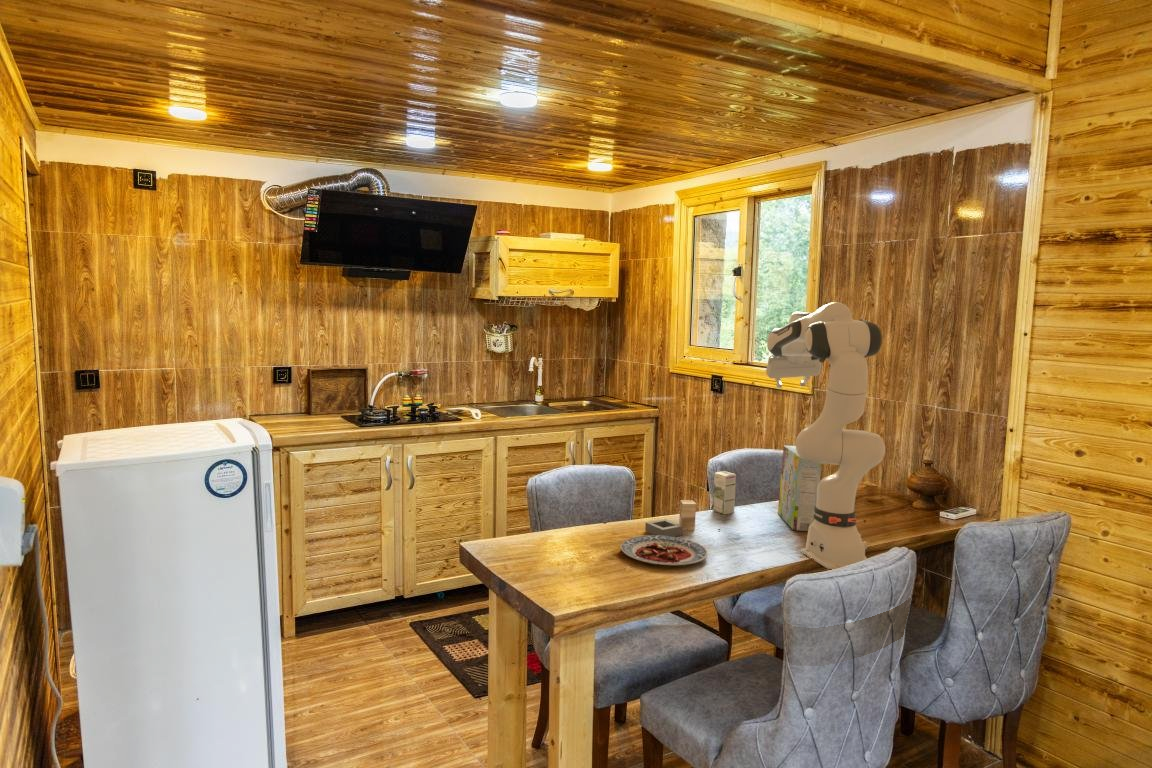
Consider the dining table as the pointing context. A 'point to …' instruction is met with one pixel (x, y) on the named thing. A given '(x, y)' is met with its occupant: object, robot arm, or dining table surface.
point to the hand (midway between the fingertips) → (790, 386)
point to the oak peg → (687, 514)
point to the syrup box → (724, 492)
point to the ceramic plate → (664, 550)
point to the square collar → (664, 528)
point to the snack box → (798, 489)
